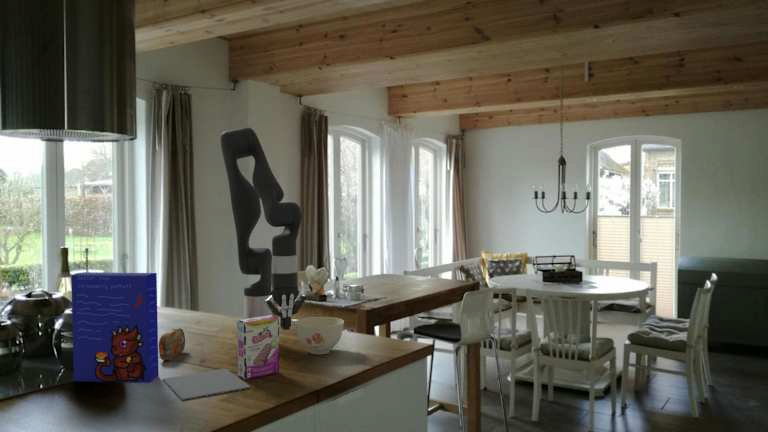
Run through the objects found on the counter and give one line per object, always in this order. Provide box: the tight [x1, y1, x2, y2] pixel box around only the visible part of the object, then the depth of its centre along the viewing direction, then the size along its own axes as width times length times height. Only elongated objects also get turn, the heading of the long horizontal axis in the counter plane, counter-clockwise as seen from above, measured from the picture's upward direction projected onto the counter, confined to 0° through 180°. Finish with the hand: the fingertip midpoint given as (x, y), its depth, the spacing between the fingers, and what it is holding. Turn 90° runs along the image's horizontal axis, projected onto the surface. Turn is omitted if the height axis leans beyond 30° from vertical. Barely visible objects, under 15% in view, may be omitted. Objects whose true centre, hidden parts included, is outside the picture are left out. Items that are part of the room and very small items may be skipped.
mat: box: [162, 368, 251, 401], centre depth 169 cm, size 18×20×1 cm
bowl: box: [294, 316, 345, 355], centre depth 202 cm, size 16×16×10 cm
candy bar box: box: [236, 314, 280, 381], centre depth 177 cm, size 11×5×16 cm, turn 129°
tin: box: [158, 328, 186, 361], centre depth 197 cm, size 15×3×8 cm, turn 176°
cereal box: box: [70, 271, 160, 384], centre depth 174 cm, size 22×6×30 cm, turn 84°
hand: (285, 329), depth 181 cm, fingers closed
